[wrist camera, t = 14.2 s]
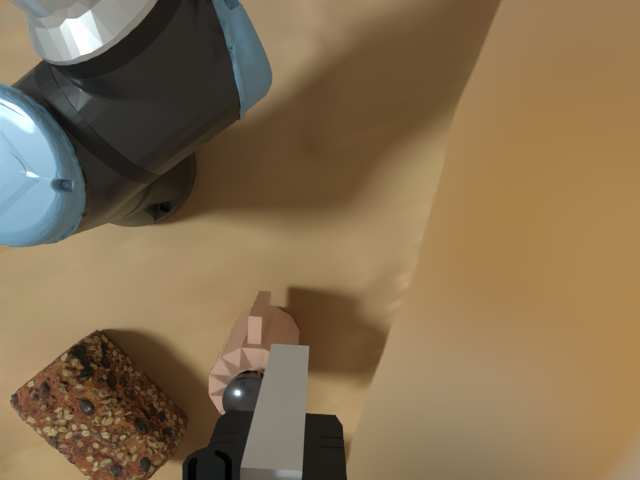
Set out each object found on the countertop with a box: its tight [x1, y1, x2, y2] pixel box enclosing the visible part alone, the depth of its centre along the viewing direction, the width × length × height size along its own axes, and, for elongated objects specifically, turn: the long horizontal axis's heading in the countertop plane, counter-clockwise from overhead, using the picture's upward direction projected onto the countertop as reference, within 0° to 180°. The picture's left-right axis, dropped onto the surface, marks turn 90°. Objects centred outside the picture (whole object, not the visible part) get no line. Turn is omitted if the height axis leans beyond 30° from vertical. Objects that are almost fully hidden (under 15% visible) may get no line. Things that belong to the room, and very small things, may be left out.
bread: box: [10, 330, 188, 480], centre depth 52 cm, size 19×11×10 cm, turn 38°
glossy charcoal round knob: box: [222, 370, 263, 412], centre depth 47 cm, size 5×5×12 cm
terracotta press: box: [209, 291, 300, 415], centre depth 49 cm, size 9×12×12 cm
